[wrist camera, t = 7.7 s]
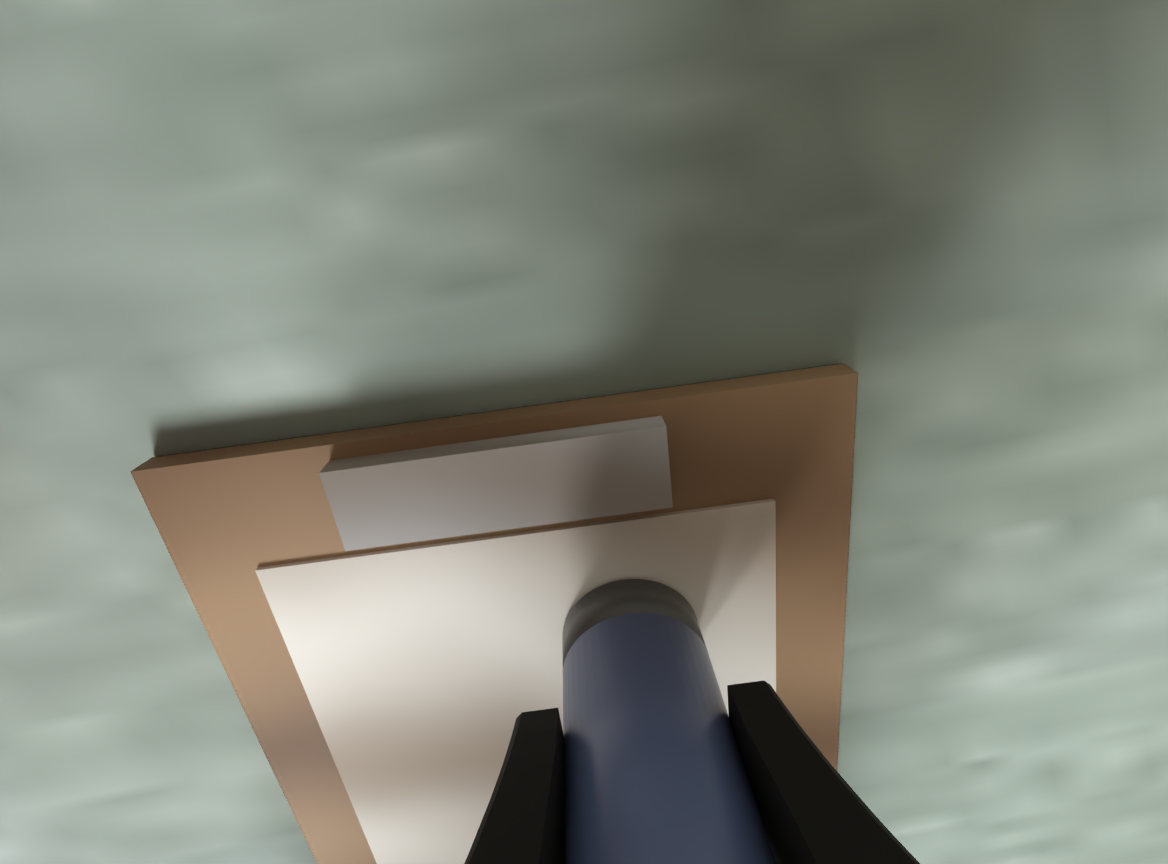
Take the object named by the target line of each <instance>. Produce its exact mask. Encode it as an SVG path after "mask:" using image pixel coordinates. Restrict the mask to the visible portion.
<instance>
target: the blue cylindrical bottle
mask: <svg viewBox="0 0 1168 864" xmlns="http://www.w3.org/2000/svg"><path fill="white" fill-rule="evenodd" d="M562 652H563V735H564V859H565V864H776V861H775V858H774V855H773V852H772V849H771V846H770V843H769V840H768V837H767V834H766V830H765V827H764V824H763V821H762V818H761V815H760V812H759V809H758V806H757V803H756V800H755V796H754V793H753V790H752V787H751V784H750V781H749V778H748V775H747V772H746V769H745V766H744V763H743V760H742V757H741V753H740V750H739V747H738V744H737V741H736V738H735V735H734V732H733V729H732V726H731V723H730V719H729V716H728V713H727V710H726V707H725V704H724V701H723V698H722V694H721V691H720V688H719V685H718V682H717V679H716V676H715V673H714V670H713V667H712V663H711V660H710V657H709V654H708V651H707V648H706V645H705V642H704V639H703V636H702V633H701V629H700V626H699V623H698V620H697V617H696V615H695V612H694V610H693V608H692V606H691V605H690V603H689V602H688V601H687V600H686V599H685V598H684V597H683V596H682V595H681V594H680V593H679V592H677V591H676V590H674V589H673V588H671V587H669V586H667V585H664V584H662V583H659V582H655V581H651V580H644V579H625V580H619V581H614V582H610V583H607V584H604V585H602V586H600V587H598V588H595V589H594V590H592V591H590V592H589V593H587V594H586V595H585V596H583V597H582V598H581V599H580V600H579V601H578V602H577V603H576V604H575V605H574V606H573V608H572V609H571V611H570V612H569V614H568V616H567V618H566V620H565V623H564V627H563V634H562Z"/></svg>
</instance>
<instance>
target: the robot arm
mask: <svg viewBox="0 0 1168 864" xmlns="http://www.w3.org/2000/svg"><path fill="white" fill-rule="evenodd" d="M727 691H728V711H729V719H730V723H731V726H732V729H733V732H734V735H735V738H736V741H737V744H738V747H739V750H740V753H741V757H742V760H743V763H744V766H745V769H746V772H747V775H748V778H749V781H750V784H751V787H752V790H753V793H754V796H755V800H756V803H757V806H758V809H759V812H760V815H761V818H762V821H763V824H764V827H765V830H766V834H767V837H768V840H769V843H770V846H771V849H772V852H773V855H774V858H775V861H776V864H920V863H919V862H918V861H917V860H916V859H915V858H914V857H913V856H912V855H911V854H910V853H909V852H908V851H907V850H906V848H905V847H904V846H903V845H902V844H901V843H900V842H899V841H898V840H897V839H896V838H895V837H894V836H893V835H892V834H891V832H890V831H889V830H888V829H887V828H886V827H885V826H884V825H883V824H882V823H881V821H880V820H879V819H878V818H877V817H876V816H875V815H874V814H873V813H872V811H871V810H870V809H869V808H868V807H867V806H866V805H865V803H864V802H863V801H862V800H861V799H860V798H859V796H858V795H857V794H856V793H855V792H854V791H853V790H852V788H851V787H850V786H849V785H848V784H847V783H846V781H845V780H844V779H843V778H842V777H841V776H840V774H839V773H838V772H837V771H836V770H835V769H834V767H833V766H832V765H831V764H830V762H829V761H828V760H827V759H826V758H825V756H824V755H823V754H822V753H821V751H820V750H819V749H818V748H817V746H816V745H815V744H814V743H813V741H812V740H811V739H810V738H809V736H808V735H807V734H806V733H805V731H804V730H803V729H802V727H801V726H800V725H799V723H798V722H797V721H796V720H795V718H794V717H793V716H792V714H791V713H790V711H789V710H788V709H787V707H786V706H785V705H784V703H783V702H782V700H781V699H780V698H779V696H778V695H777V693H776V692H775V691H774V689H773V688H772V686H771V685H770V684H769V683H767V682H766V681H756V682H749V683H741V684H733V685H727ZM464 864H565V859H564V735H563V730H562V725H561V720H560V715H559V710H558V708H551V709H544V710H536V711H528V712H522V713H521V714H520V715H519V716H518V717H517V718H516V721H515V725H514V729H513V732H512V736H511V739H510V743H509V746H508V749H507V752H506V756H505V759H504V762H503V765H502V768H501V771H500V773H499V776H498V779H497V782H496V785H495V787H494V790H493V793H492V796H491V799H490V801H489V804H488V806H487V809H486V811H485V814H484V816H483V819H482V821H481V824H480V826H479V829H478V831H477V834H476V836H475V839H474V841H473V844H472V846H471V849H470V851H469V854H468V856H467V858H466V861H465V863H464Z"/></svg>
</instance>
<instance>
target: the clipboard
mask: <svg viewBox="0 0 1168 864" xmlns="http://www.w3.org/2000/svg"><path fill="white" fill-rule="evenodd" d="M857 384H858V373H857V372H856V371H854V370H852V369H851V368H849V367H847V366H846V365H844V364H837V365H829V366H822V367H815V368H807V369H800V370H793V371H785V372H778V373H770V374H763V375H756V376H748V377H741V378H734V379H726V380H719V381H712V382H704V383H697V384H690V385H682V386H675V387H667V388H660V389H653V390H645V391H638V392H631V393H623V394H616V395H609V396H601V397H594V398H587V399H579V400H572V401H564V402H557V403H550V404H542V405H535V406H528V407H520V408H513V409H506V410H498V411H491V412H484V413H476V414H469V415H461V416H454V417H447V418H439V419H432V420H425V421H417V422H410V423H403V424H395V425H388V426H381V427H373V428H366V429H358V430H351V431H344V432H336V433H329V434H322V435H314V436H307V437H300V438H292V439H285V440H278V441H270V442H263V443H255V444H248V445H241V446H233V447H226V448H219V449H211V450H204V451H197V452H189V453H182V454H175V455H167V456H160V457H152V458H151V459H149V460H148V461H146V462H145V463H143V464H141V465H140V466H138V467H137V468H135V469H134V470H132V471H131V474H132V476H133V478H134V480H135V482H136V484H137V486H138V489H139V491H140V493H141V495H142V497H143V499H144V501H145V503H146V505H147V507H148V510H149V512H150V514H151V516H152V518H153V520H154V522H155V524H156V526H157V528H158V531H159V533H160V535H161V537H162V539H163V541H164V543H165V545H166V547H167V549H168V551H169V554H170V556H171V558H172V560H173V562H174V564H175V566H176V568H177V570H178V572H179V575H180V577H181V579H182V581H183V583H184V585H185V587H186V589H187V591H188V593H189V596H190V598H191V600H192V602H193V604H194V606H195V608H196V610H197V612H198V614H199V617H200V619H201V621H202V623H203V625H204V627H205V629H206V631H207V633H208V635H209V638H210V640H211V642H212V644H213V646H214V648H215V650H216V652H217V654H218V656H219V659H220V661H221V663H222V665H223V667H224V669H225V671H226V673H227V675H228V677H229V680H230V682H231V684H232V686H233V688H234V690H235V692H236V694H237V696H238V698H239V701H240V703H241V705H242V707H243V709H244V711H245V713H246V715H247V717H248V719H249V722H250V724H251V726H252V728H253V730H254V732H255V734H256V736H257V738H258V740H259V743H260V745H261V747H262V749H263V751H264V753H265V755H266V757H267V759H268V761H269V764H270V766H271V768H272V770H273V772H274V774H275V776H276V778H277V780H278V782H279V785H280V787H281V789H282V791H283V793H284V795H285V797H286V799H287V801H288V803H289V806H290V808H291V810H292V812H293V814H294V816H295V818H296V820H297V822H298V824H299V827H300V829H301V831H302V833H303V835H304V837H305V839H306V841H307V843H308V845H309V848H310V850H311V852H312V854H313V856H314V858H315V860H316V862H317V864H464V863H465V861H466V858H467V856H468V854H469V851H470V849H471V846H472V844H473V841H474V839H475V836H476V834H477V831H478V829H479V826H480V824H481V821H482V819H483V816H484V814H485V811H486V809H487V806H488V804H489V801H490V799H491V796H492V793H493V790H494V787H495V785H496V782H497V779H498V776H499V773H500V771H501V768H502V765H503V762H504V759H505V756H506V752H507V749H508V746H509V743H510V739H511V736H512V732H513V729H514V725H515V721H516V718H517V717H518V716H519V715H520V714H521V713H522V712H528V711H536V710H544V709H551V708H558V710H559V715H560V720H561V725H562V730H563V652H562V634H563V627H564V623H565V620H566V618H567V616H568V614H569V612H570V611H571V609H572V608H573V606H574V605H575V604H576V603H577V602H578V601H579V600H580V599H581V598H582V597H583V596H585V595H586V594H587V593H589V592H590V591H592V590H594V589H595V588H598V587H600V586H602V585H604V584H607V583H610V582H614V581H619V580H625V579H644V580H651V581H655V582H659V583H662V584H664V585H667V586H669V587H671V588H673V589H674V590H676V591H677V592H679V593H680V594H681V595H682V596H683V597H684V598H685V599H686V600H687V601H688V602H689V603H690V605H691V606H692V608H693V610H694V612H695V615H696V617H697V620H698V623H699V626H700V629H701V633H702V636H703V639H704V642H705V645H706V648H707V651H708V654H709V657H710V660H711V663H712V667H713V670H714V673H715V676H716V679H717V682H718V685H719V688H720V691H721V694H722V698H723V701H724V704H725V707H726V710H727V713H728V716H729V711H728V691H727V685H733V684H741V683H749V682H756V681H766V682H767V683H769V684H770V685H771V686H772V688H773V689H774V691H775V692H776V693H777V695H778V696H779V698H780V699H781V700H782V702H783V703H784V705H785V706H786V707H787V709H788V710H789V711H790V713H791V714H792V716H793V717H794V718H795V720H796V721H797V722H798V723H799V725H800V726H801V727H802V729H803V730H804V731H805V733H806V734H807V735H808V736H809V738H810V739H811V740H812V741H813V743H814V744H815V745H816V746H817V748H818V749H819V750H820V751H821V753H822V754H823V755H824V756H825V758H826V759H827V760H828V761H829V762H830V764H831V765H832V766H833V767H834V769H835V770H836V771H837V762H838V744H839V725H840V706H841V687H842V668H843V649H844V630H845V611H846V592H847V573H848V554H849V535H850V516H851V498H852V479H853V460H854V441H855V422H856V403H857Z"/></svg>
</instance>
